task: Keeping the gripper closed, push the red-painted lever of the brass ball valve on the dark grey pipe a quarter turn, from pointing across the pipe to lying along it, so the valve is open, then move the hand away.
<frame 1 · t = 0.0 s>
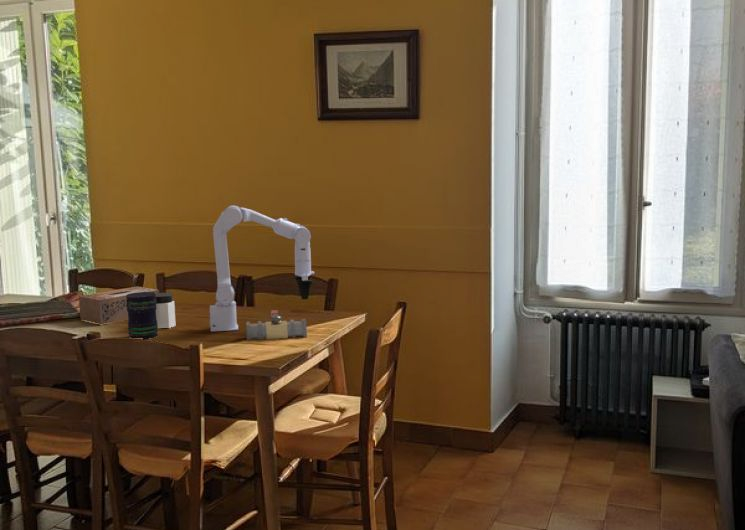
hand: (304, 297, 268), 10 cm above the table, tool pointing down, fingers open, 7 cm apart
storage jar: (143, 337, 254), on the table
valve: (276, 336, 251), on the table
jar: (163, 327, 269), on the table
lever: (275, 316, 254), point 6 cm above the table, hinge at 0.0°
tissue box cover: (121, 318, 288), on the table
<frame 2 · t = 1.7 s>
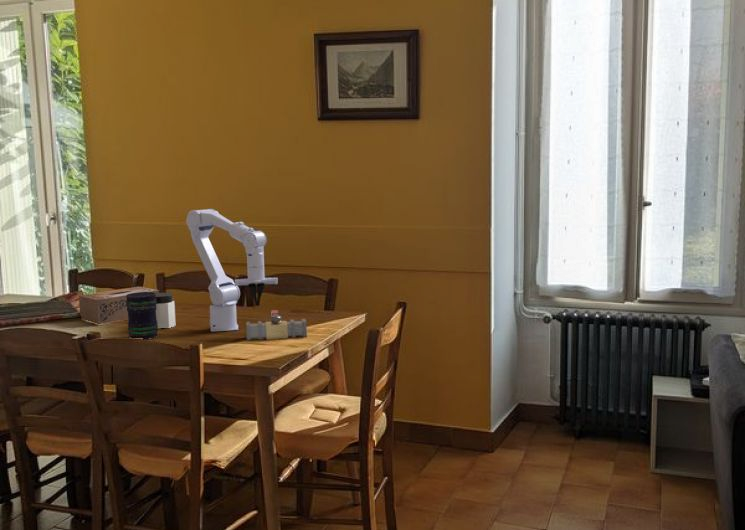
hand: (257, 305, 255), 10 cm above the table, tool pointing down, fingers closed
nothing on the table moved.
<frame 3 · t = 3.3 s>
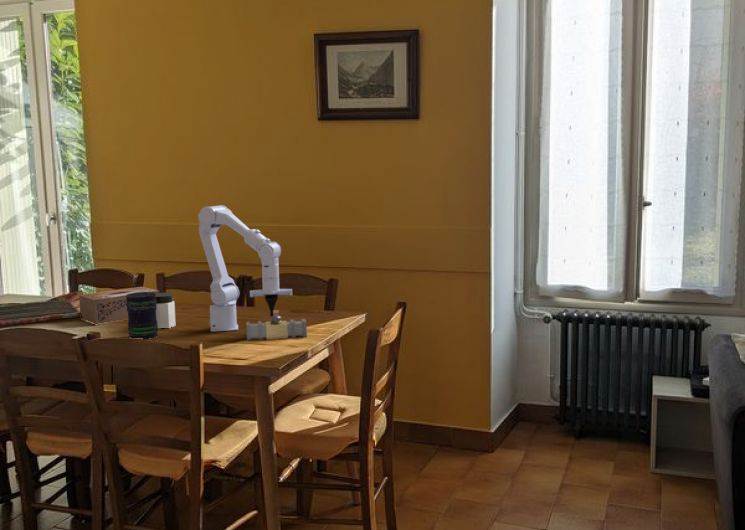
hand: (271, 316, 256), 6 cm above the table, tool pointing down, fingers closed, pressing on lever
lever: (275, 316, 254), point 6 cm above the table, hinge at 2.0°, touching gripper
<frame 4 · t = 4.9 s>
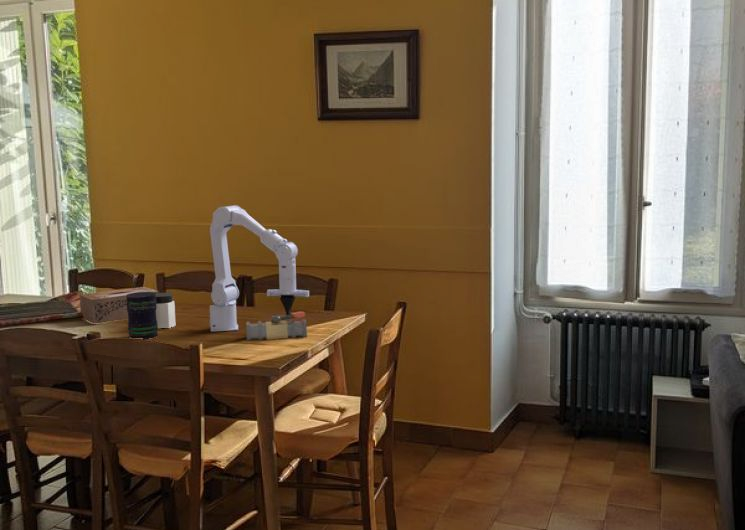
hand: (288, 316, 256), 6 cm above the table, tool pointing down, fingers closed, pressing on lever
lever: (287, 317, 253), point 6 cm above the table, hinge at 56.9°, touching gripper
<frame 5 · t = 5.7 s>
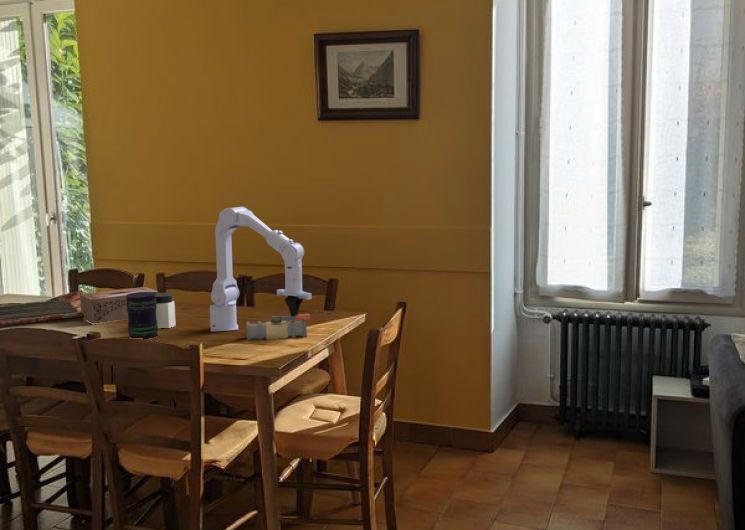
hand: (294, 317, 253), 6 cm above the table, tool pointing down, fingers closed, pressing on lever
lever: (290, 318, 251), point 6 cm above the table, hinge at 83.1°, touching gripper
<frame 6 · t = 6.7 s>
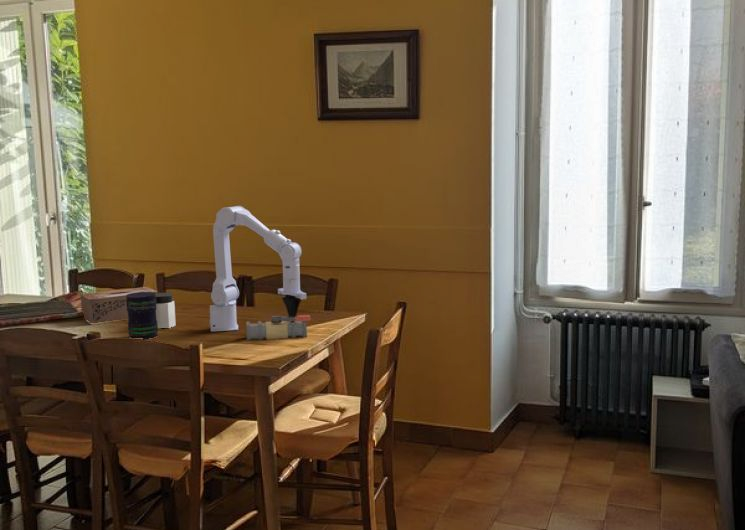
hand: (292, 317, 255), 6 cm above the table, tool pointing down, fingers closed
lever: (290, 318, 250), point 6 cm above the table, hinge at 96.1°
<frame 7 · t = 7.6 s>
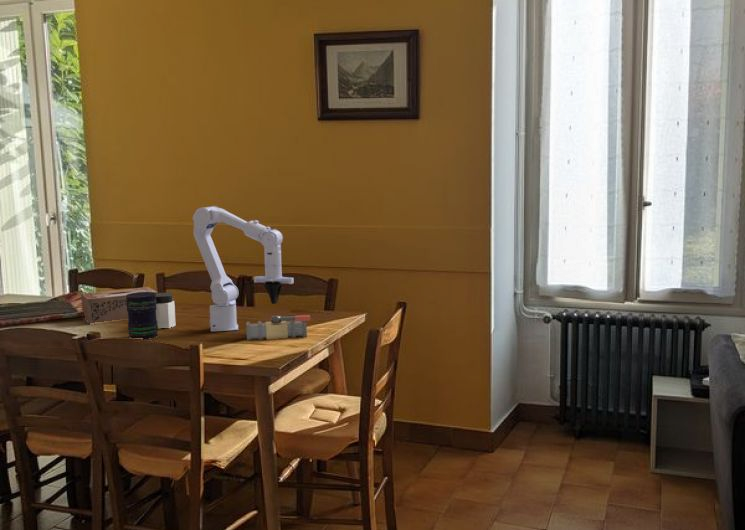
hand: (274, 303, 258), 10 cm above the table, tool pointing down, fingers closed
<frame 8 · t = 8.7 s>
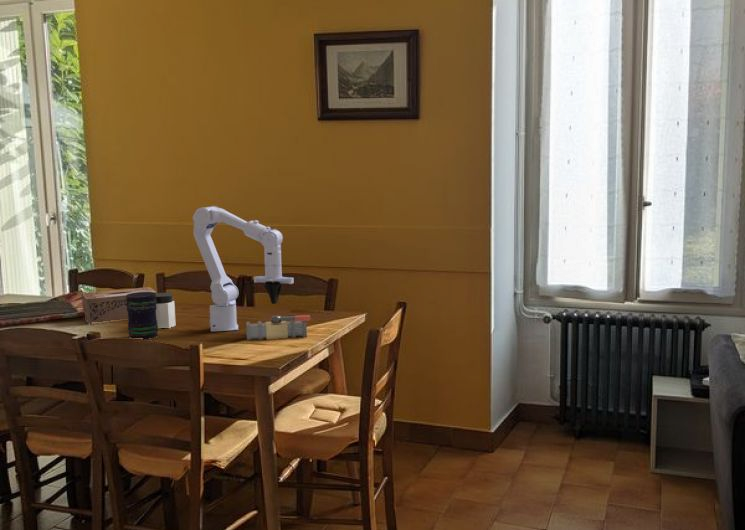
hand: (274, 303, 258), 10 cm above the table, tool pointing down, fingers closed
at the end: lever at +96° (first picture: +0°) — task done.
